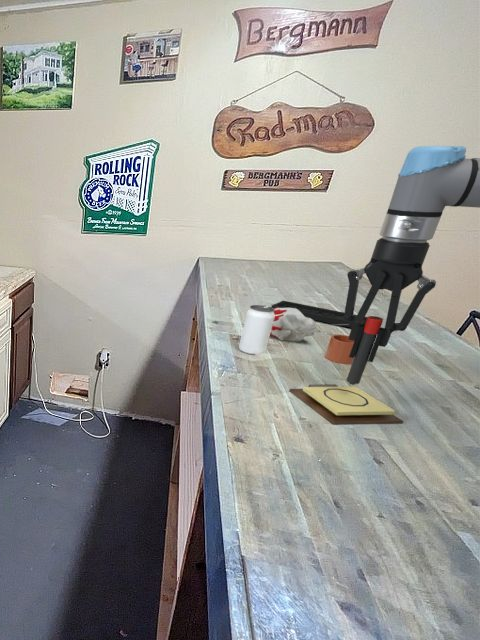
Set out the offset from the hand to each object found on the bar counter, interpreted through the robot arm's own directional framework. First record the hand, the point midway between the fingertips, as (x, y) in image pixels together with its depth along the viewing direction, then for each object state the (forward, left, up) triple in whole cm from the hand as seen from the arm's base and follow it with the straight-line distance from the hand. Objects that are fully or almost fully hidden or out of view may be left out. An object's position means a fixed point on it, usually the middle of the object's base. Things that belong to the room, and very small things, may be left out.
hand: (361, 357), depth 92 cm
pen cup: (+22, -14, -11) cm, 28 cm away
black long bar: (+54, -30, -11) cm, 63 cm away
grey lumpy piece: (+39, -8, -11) cm, 41 cm away
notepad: (-2, +2, -9) cm, 10 cm away
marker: (0, 0, -6) cm, 6 cm away
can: (+29, +5, -11) cm, 31 cm away
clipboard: (-1, +2, -11) cm, 11 cm away
